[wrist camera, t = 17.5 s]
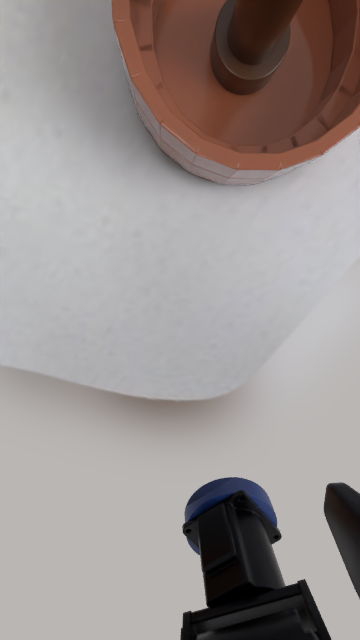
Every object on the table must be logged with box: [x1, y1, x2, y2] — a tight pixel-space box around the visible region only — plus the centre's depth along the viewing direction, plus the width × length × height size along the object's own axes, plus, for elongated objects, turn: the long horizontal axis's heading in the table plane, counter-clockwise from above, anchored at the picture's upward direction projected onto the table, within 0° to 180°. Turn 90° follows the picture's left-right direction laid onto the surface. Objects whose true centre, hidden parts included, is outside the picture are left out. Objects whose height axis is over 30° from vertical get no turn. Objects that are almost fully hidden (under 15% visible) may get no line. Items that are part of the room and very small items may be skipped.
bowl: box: [112, 0, 360, 184], centre depth 13 cm, size 12×12×4 cm
